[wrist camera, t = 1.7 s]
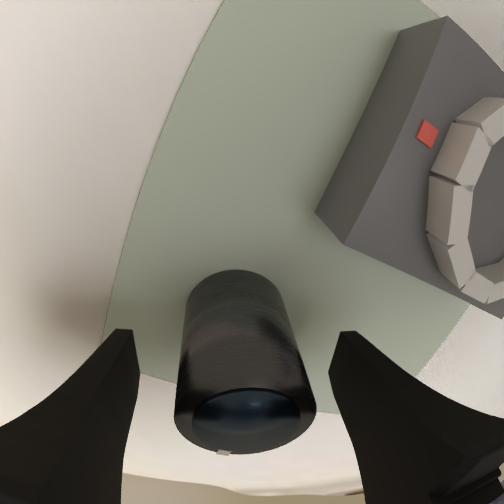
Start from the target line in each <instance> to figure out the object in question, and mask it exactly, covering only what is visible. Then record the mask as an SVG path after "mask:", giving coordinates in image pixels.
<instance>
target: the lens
mask: <svg viewBox="0 0 504 504" xmlns="http://www.w3.org/2000/svg"><path fill="white" fill-rule="evenodd" d="M316 411H317V404H316V401H315V398H314V394H313V391H312V388H311V385H310V382H309V379H308V376H307V373H306V370H305V366H304V363H303V360H302V357H301V354H300V351H299V348H298V345H297V342H296V339H295V336H294V333H293V330H292V327H291V323H290V320H289V317H288V314H287V311H286V308H285V305H284V302H283V299H282V296H281V294H280V292H279V290H278V289H277V288H276V286H275V285H274V284H273V283H272V282H271V281H270V280H268V279H267V278H265V277H264V276H262V275H260V274H257V273H255V272H251V271H247V270H237V269H234V270H225V271H221V272H217V273H214V274H212V275H210V276H208V277H206V278H205V279H203V280H202V281H201V282H200V283H198V284H197V285H196V286H195V288H194V289H193V290H192V292H191V293H190V295H189V297H188V300H187V303H186V310H185V318H184V326H183V334H182V342H181V351H180V359H179V369H178V378H177V388H176V399H175V410H174V421H175V424H176V427H177V429H178V430H179V432H180V433H181V434H182V435H183V436H184V437H185V438H186V439H187V440H189V441H190V442H192V443H193V444H195V445H197V446H199V447H202V448H204V449H207V450H210V451H214V452H216V454H220V455H227V456H228V455H229V454H253V453H259V452H264V451H268V450H272V449H275V448H278V447H280V446H283V445H285V444H287V443H289V442H291V441H293V440H294V439H296V438H297V437H299V436H300V435H301V434H303V433H304V432H305V431H306V430H307V429H308V428H309V426H310V425H311V424H312V422H313V420H314V418H315V416H316Z"/></svg>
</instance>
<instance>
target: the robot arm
mask: <svg viewBox="0 0 504 504" xmlns="http://www.w3.org/2000/svg"><path fill="white" fill-rule="evenodd" d="M328 375H329V379H330V384H331V388H332V392H333V395H334V398H335V401H336V403H337V406H338V408H339V411H340V414H341V416H342V419H343V421H344V424H345V426H346V429H347V431H348V434H349V436H350V439H351V441H352V444H353V447H354V450H355V454H356V458H357V462H358V466H359V470H360V475H361V480H362V485H363V490H364V495H365V502H366V504H504V480H503V481H502V482H501V483H500V481H499V479H498V477H499V476H500V475H501V471H500V469H499V466H500V465H501V464H502V463H504V419H503V418H499V417H495V416H491V415H488V414H485V413H482V412H479V411H477V410H474V409H471V408H469V407H466V406H464V405H462V404H460V403H458V402H455V401H453V400H451V399H449V398H447V397H445V396H444V395H442V394H440V393H438V392H436V391H435V390H433V389H431V388H430V387H428V386H426V385H425V384H423V383H422V382H420V381H419V380H417V379H416V378H415V377H413V376H412V375H410V374H409V373H408V372H406V371H405V370H404V369H402V368H401V367H400V366H398V365H397V364H396V363H395V362H393V361H392V360H391V359H390V358H388V357H387V356H386V355H385V354H384V353H382V352H381V351H380V350H379V349H378V348H376V347H375V346H374V345H373V344H372V343H370V342H369V341H368V340H367V339H366V338H364V337H363V336H362V335H361V334H359V333H358V332H357V331H340V334H339V337H338V340H337V344H336V347H335V351H334V354H333V357H332V360H331V363H330V367H329V370H328ZM139 379H140V368H139V363H138V357H137V352H136V346H135V340H134V334H133V330H132V329H118V328H116V329H115V330H114V331H113V332H112V333H111V334H110V335H109V336H108V337H107V338H106V340H105V341H104V342H103V343H102V344H101V345H100V346H99V347H98V348H97V350H96V351H95V352H94V353H93V354H92V355H91V356H90V357H89V358H88V359H87V360H86V361H85V362H84V364H83V365H82V366H81V367H80V368H79V369H78V370H77V371H76V372H75V373H74V374H73V375H72V376H70V377H69V378H68V379H67V380H66V381H65V382H64V383H63V384H62V385H61V386H60V387H59V388H58V389H56V390H55V391H54V392H53V393H52V394H50V395H49V396H48V397H47V398H45V399H44V400H43V401H41V402H40V403H39V404H37V405H36V406H34V407H33V408H31V409H30V410H28V411H27V412H25V413H24V414H22V415H21V416H19V417H17V418H16V419H14V420H12V421H10V422H9V423H7V424H5V425H3V426H1V427H0V504H121V483H122V469H123V458H124V452H125V447H126V442H127V438H128V433H129V429H130V425H131V421H132V417H133V412H134V408H135V404H136V400H137V395H138V387H139Z"/></svg>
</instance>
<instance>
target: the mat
mask: <svg viewBox="0 0 504 504" xmlns="http://www.w3.org/2000/svg"><path fill="white" fill-rule="evenodd" d="M438 18H440V17H439V16H438V15H437V14H435V13H434V12H433V11H432V10H431V9H429V8H428V7H427V6H426V5H424V4H423V3H422V2H420V1H419V0H224V2H223V4H222V6H221V7H220V9H219V11H218V13H217V15H216V16H215V18H214V20H213V22H212V24H211V26H210V28H209V29H208V31H207V33H206V35H205V37H204V39H203V41H202V43H201V45H200V47H199V49H198V51H197V53H196V55H195V57H194V59H193V61H192V63H191V65H190V68H189V70H188V72H187V74H186V76H185V78H184V81H183V83H182V85H181V87H180V89H179V92H178V94H177V96H176V99H175V101H174V103H173V106H172V108H171V110H170V113H169V115H168V118H167V120H166V123H165V125H164V128H163V130H162V133H161V135H160V138H159V140H158V143H157V146H156V148H155V151H154V154H153V156H152V159H151V162H150V165H149V167H148V170H147V173H146V176H145V179H144V182H143V185H142V188H141V191H140V194H139V197H138V200H137V203H136V206H135V209H134V213H133V216H132V219H131V222H130V226H129V229H128V233H127V236H126V240H125V243H124V247H123V250H122V254H121V258H120V262H119V265H118V269H117V273H116V277H115V281H114V286H113V290H112V294H111V299H110V303H109V308H108V312H107V317H106V322H105V327H104V332H103V337H102V343H103V342H104V341H105V340H106V338H107V337H108V336H109V335H110V334H111V333H112V332H113V331H114V330H115V329H116V328H118V329H132V330H133V334H134V340H135V346H136V352H137V357H138V363H139V368H140V373H142V374H145V375H149V376H152V377H155V378H159V379H162V380H165V381H169V382H172V383H176V384H177V378H178V369H179V359H180V351H181V342H182V334H183V326H184V318H185V310H186V303H187V300H188V297H189V295H190V293H191V292H192V290H193V289H194V288H195V286H196V285H197V284H198V283H200V282H201V281H202V280H203V279H205V278H206V277H208V276H210V275H212V274H214V273H217V272H221V271H225V270H234V269H237V270H247V271H251V272H255V273H257V274H260V275H262V276H264V277H265V278H267V279H268V280H270V281H271V282H272V283H273V284H274V285H275V286H276V288H277V289H278V290H279V292H280V294H281V296H282V299H283V302H284V305H285V308H286V311H287V314H288V317H289V320H290V323H291V327H292V330H293V333H294V336H295V339H296V342H297V345H298V348H299V351H300V354H301V357H302V360H303V363H304V366H305V370H306V373H307V376H308V379H309V382H310V385H311V388H312V391H313V394H314V398H315V401H316V404H317V411H316V412H323V413H332V414H340V411H339V408H338V406H337V403H336V401H335V398H334V395H333V392H332V388H331V384H330V379H329V375H328V370H329V367H330V363H331V360H332V357H333V354H334V351H335V347H336V344H337V340H338V337H339V334H340V331H357V332H358V333H359V334H361V335H362V336H363V337H364V338H366V339H367V340H368V341H369V342H370V343H372V344H373V345H374V346H375V347H376V348H378V349H379V350H380V351H381V352H382V353H384V354H385V355H386V356H387V357H388V358H390V359H391V360H392V361H393V362H395V363H396V364H397V365H398V366H400V367H401V368H402V369H404V370H405V371H406V372H408V373H409V374H410V375H412V376H413V377H416V376H417V374H418V373H419V372H420V371H421V370H422V368H423V367H424V366H425V365H426V363H427V362H428V361H429V360H430V358H431V357H432V356H433V355H434V353H435V352H436V351H437V349H438V348H439V347H440V345H441V344H442V343H443V341H444V340H445V339H446V337H447V336H448V335H449V333H450V332H451V331H452V329H453V328H454V326H455V325H456V323H457V322H458V321H459V319H460V318H461V316H462V315H463V313H464V312H465V310H466V309H467V307H468V306H469V304H470V303H468V302H466V301H464V300H462V299H460V298H458V297H456V296H454V295H452V294H449V293H447V292H445V291H443V290H441V289H439V288H437V287H435V286H433V285H431V284H428V283H426V282H424V281H422V280H420V279H418V278H416V277H414V276H411V275H409V274H407V273H405V272H403V271H401V270H398V269H396V268H394V267H392V266H390V265H387V264H385V263H383V262H381V261H378V260H376V259H374V258H372V257H370V256H367V255H365V254H363V253H361V252H358V251H356V250H354V249H351V248H349V247H347V246H345V245H343V244H342V243H341V242H340V241H339V239H338V238H337V237H336V236H335V235H334V234H333V233H332V232H331V230H330V229H329V228H328V227H327V226H326V225H325V224H324V223H323V221H322V220H321V219H320V218H319V217H318V216H317V215H316V214H315V213H314V212H315V210H316V208H317V206H318V204H319V202H320V200H321V198H322V196H323V194H324V192H325V190H326V188H327V186H328V184H329V182H330V180H331V178H332V176H333V174H334V172H335V170H336V168H337V166H338V164H339V162H340V160H341V158H342V156H343V154H344V151H345V149H346V147H347V145H348V143H349V141H350V139H351V137H352V135H353V133H354V131H355V129H356V126H357V124H358V122H359V120H360V118H361V116H362V114H363V112H364V109H365V107H366V105H367V103H368V101H369V99H370V97H371V94H372V92H373V90H374V88H375V86H376V84H377V81H378V79H379V77H380V75H381V72H382V70H383V68H384V66H385V64H386V61H387V59H388V57H389V55H390V52H391V50H392V48H393V45H394V43H395V41H396V39H397V36H398V34H399V32H400V30H403V29H406V28H409V27H412V26H415V25H418V24H421V23H425V22H428V21H431V20H435V19H438ZM102 343H101V344H102Z"/></svg>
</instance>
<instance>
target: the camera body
mask: <svg viewBox="0 0 504 504" xmlns="http://www.w3.org/2000/svg"><path fill="white" fill-rule="evenodd" d="M314 213H315V214H316V215H317V216H318V217H319V218H320V219H321V220H322V221H323V223H324V224H325V225H326V226H327V227H328V228H329V229H330V230H331V232H332V233H333V234H334V235H335V236H336V237H337V238H338V239H339V241H340V242H341V243H342V244H343V245H345V246H347V247H349V248H351V249H354V250H356V251H358V252H361V253H363V254H365V255H367V256H370V257H372V258H374V259H376V260H378V261H381V262H383V263H385V264H387V265H390V266H392V267H394V268H396V269H398V270H401V271H403V272H405V273H407V274H409V275H411V276H414V277H416V278H418V279H420V280H422V281H424V282H426V283H428V284H431V285H433V286H435V287H437V288H439V289H441V290H443V291H445V292H447V293H449V294H452V295H454V296H456V297H458V298H460V299H462V300H464V301H466V302H468V303H470V304H472V305H474V306H476V307H478V308H480V309H482V310H484V311H486V312H488V313H490V314H492V315H494V316H496V317H498V318H500V319H502V318H503V316H504V72H503V71H502V70H501V69H500V68H499V67H498V66H497V64H496V63H495V62H494V61H493V60H492V59H491V58H490V57H489V56H488V55H487V53H486V52H485V51H484V50H483V49H482V48H481V47H480V46H479V45H478V44H477V43H476V42H475V41H474V40H473V39H472V38H471V37H470V36H469V35H468V34H467V33H466V32H465V31H464V30H463V29H461V28H460V27H459V26H458V25H457V24H456V23H455V22H454V21H453V20H452V19H450V18H449V17H448V16H446V17H442V18H438V19H435V20H431V21H428V22H425V23H421V24H418V25H415V26H412V27H409V28H406V29H403V30H400V32H399V34H398V36H397V39H396V41H395V43H394V45H393V48H392V50H391V52H390V55H389V57H388V59H387V61H386V64H385V66H384V68H383V70H382V72H381V75H380V77H379V79H378V81H377V84H376V86H375V88H374V90H373V92H372V94H371V97H370V99H369V101H368V103H367V105H366V107H365V109H364V112H363V114H362V116H361V118H360V120H359V122H358V124H357V126H356V129H355V131H354V133H353V135H352V137H351V139H350V141H349V143H348V145H347V147H346V149H345V151H344V154H343V156H342V158H341V160H340V162H339V164H338V166H337V168H336V170H335V172H334V174H333V176H332V178H331V180H330V182H329V184H328V186H327V188H326V190H325V192H324V194H323V196H322V198H321V200H320V202H319V204H318V206H317V208H316V210H315V212H314Z"/></svg>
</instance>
